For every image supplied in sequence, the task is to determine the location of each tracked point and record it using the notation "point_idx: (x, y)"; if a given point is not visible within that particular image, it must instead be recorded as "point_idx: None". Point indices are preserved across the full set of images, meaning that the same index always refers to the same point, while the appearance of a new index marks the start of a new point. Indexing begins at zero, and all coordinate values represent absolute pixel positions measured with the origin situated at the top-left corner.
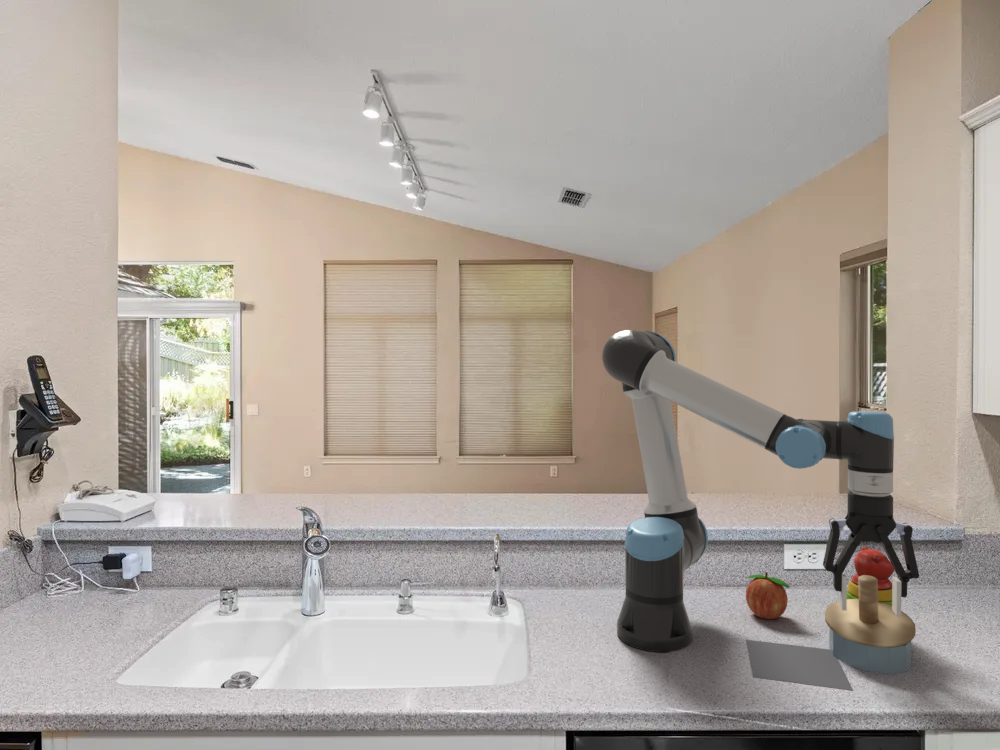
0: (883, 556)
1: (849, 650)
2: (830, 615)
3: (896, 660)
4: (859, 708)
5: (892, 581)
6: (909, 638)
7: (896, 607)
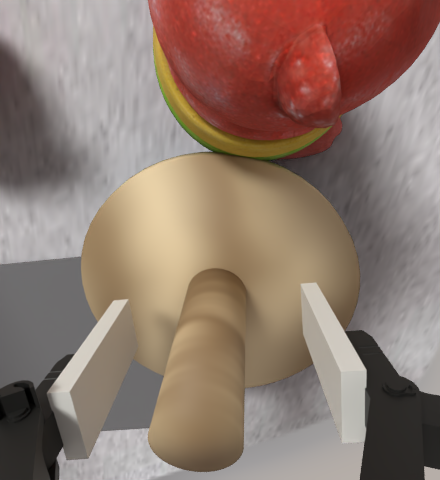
0: (394, 23)
1: None
2: (100, 287)
3: None
4: (178, 470)
5: (332, 356)
6: None
7: (309, 351)
